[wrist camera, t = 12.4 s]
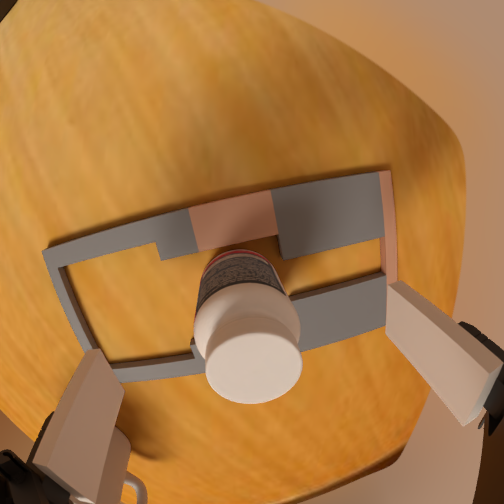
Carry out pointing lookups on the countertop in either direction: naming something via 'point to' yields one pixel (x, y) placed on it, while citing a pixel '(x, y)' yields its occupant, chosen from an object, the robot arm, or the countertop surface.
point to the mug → (117, 474)
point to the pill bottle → (247, 329)
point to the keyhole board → (254, 227)
